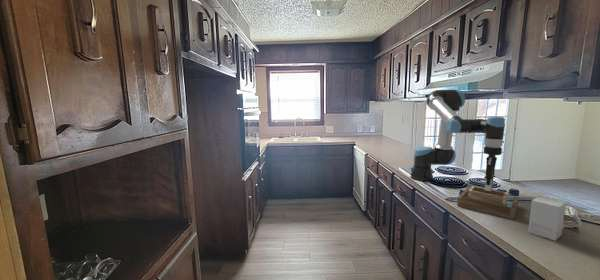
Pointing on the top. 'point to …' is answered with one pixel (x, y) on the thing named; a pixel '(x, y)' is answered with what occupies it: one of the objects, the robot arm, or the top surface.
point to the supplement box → (547, 217)
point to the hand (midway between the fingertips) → (488, 189)
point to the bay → (488, 205)
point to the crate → (488, 195)
